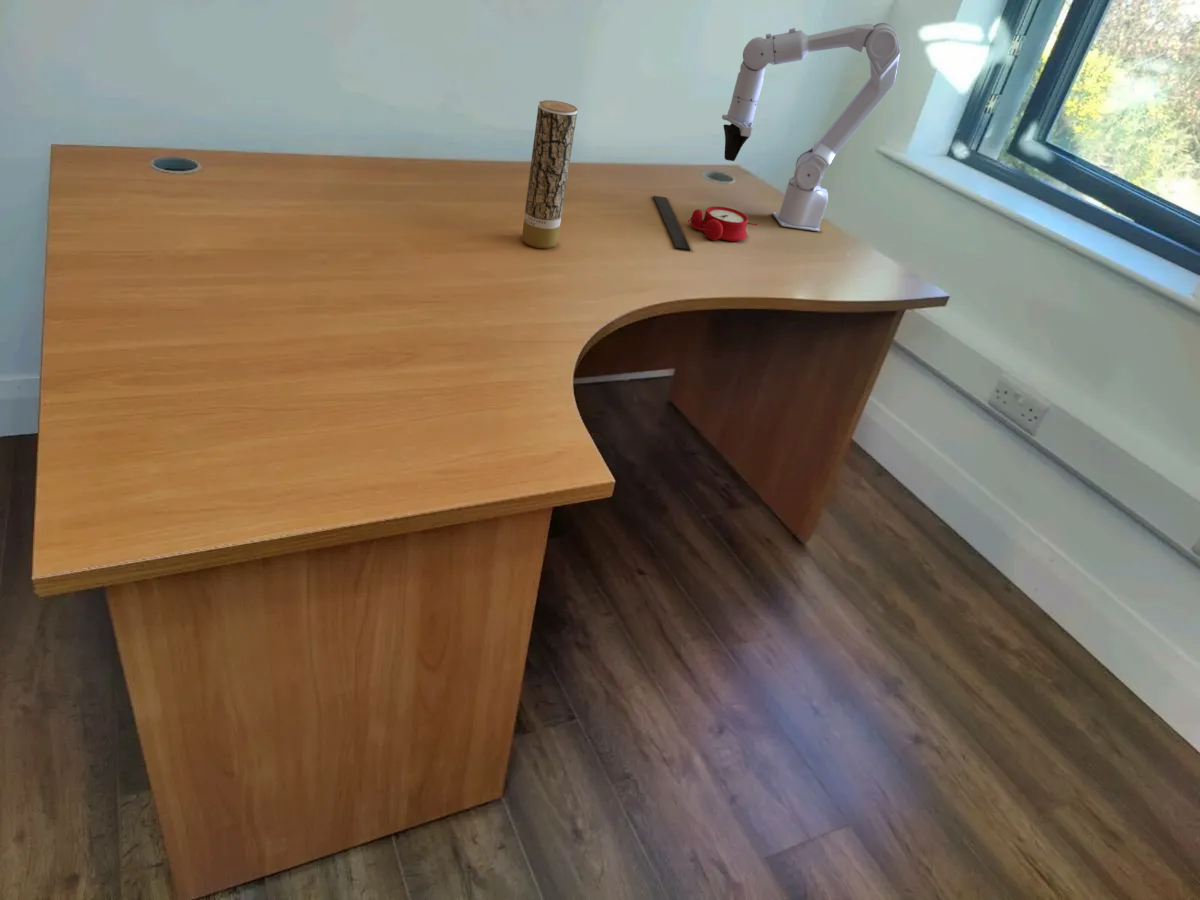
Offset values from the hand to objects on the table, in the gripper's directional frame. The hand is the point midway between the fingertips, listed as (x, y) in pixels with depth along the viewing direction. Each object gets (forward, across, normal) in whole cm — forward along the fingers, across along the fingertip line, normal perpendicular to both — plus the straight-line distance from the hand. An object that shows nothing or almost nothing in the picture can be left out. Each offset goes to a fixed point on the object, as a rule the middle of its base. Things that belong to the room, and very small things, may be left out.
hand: (729, 159), depth 191 cm
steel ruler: (+10, +17, -14) cm, 25 cm away
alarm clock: (+11, +20, -5) cm, 23 cm away
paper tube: (+11, +38, -44) cm, 59 cm away
